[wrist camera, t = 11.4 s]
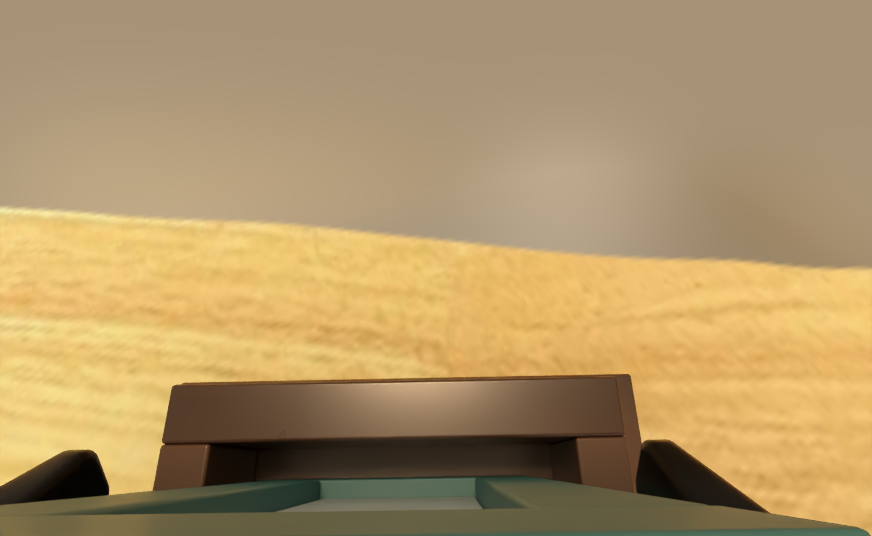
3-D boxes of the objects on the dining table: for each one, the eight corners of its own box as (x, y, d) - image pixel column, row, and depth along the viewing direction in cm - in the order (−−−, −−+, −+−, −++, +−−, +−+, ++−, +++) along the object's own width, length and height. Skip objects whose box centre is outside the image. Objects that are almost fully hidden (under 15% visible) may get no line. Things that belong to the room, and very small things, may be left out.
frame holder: (671, 687, 13) (761, 775, 9) (140, 692, 13) (19, 779, 9) (622, 377, 16) (674, 349, 12) (192, 386, 16) (116, 361, 12)
